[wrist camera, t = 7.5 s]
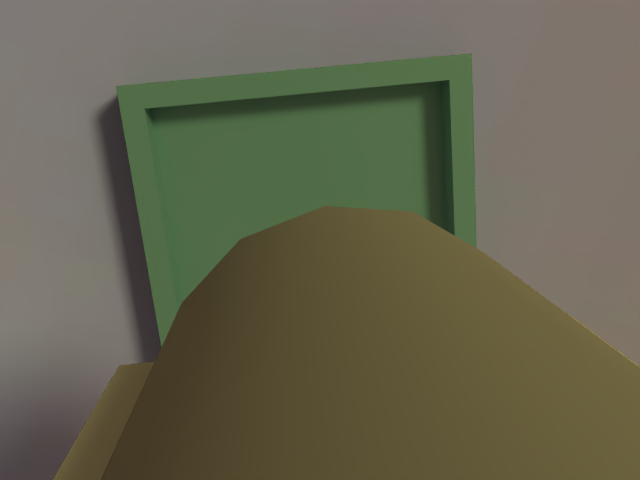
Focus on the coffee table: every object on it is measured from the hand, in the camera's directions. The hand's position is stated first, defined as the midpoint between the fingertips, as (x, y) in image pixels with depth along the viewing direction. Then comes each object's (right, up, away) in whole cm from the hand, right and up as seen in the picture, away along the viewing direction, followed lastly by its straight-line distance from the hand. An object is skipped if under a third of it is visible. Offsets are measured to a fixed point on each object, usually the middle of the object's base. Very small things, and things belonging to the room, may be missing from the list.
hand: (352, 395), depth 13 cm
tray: (-1, +4, +15) cm, 16 cm away
